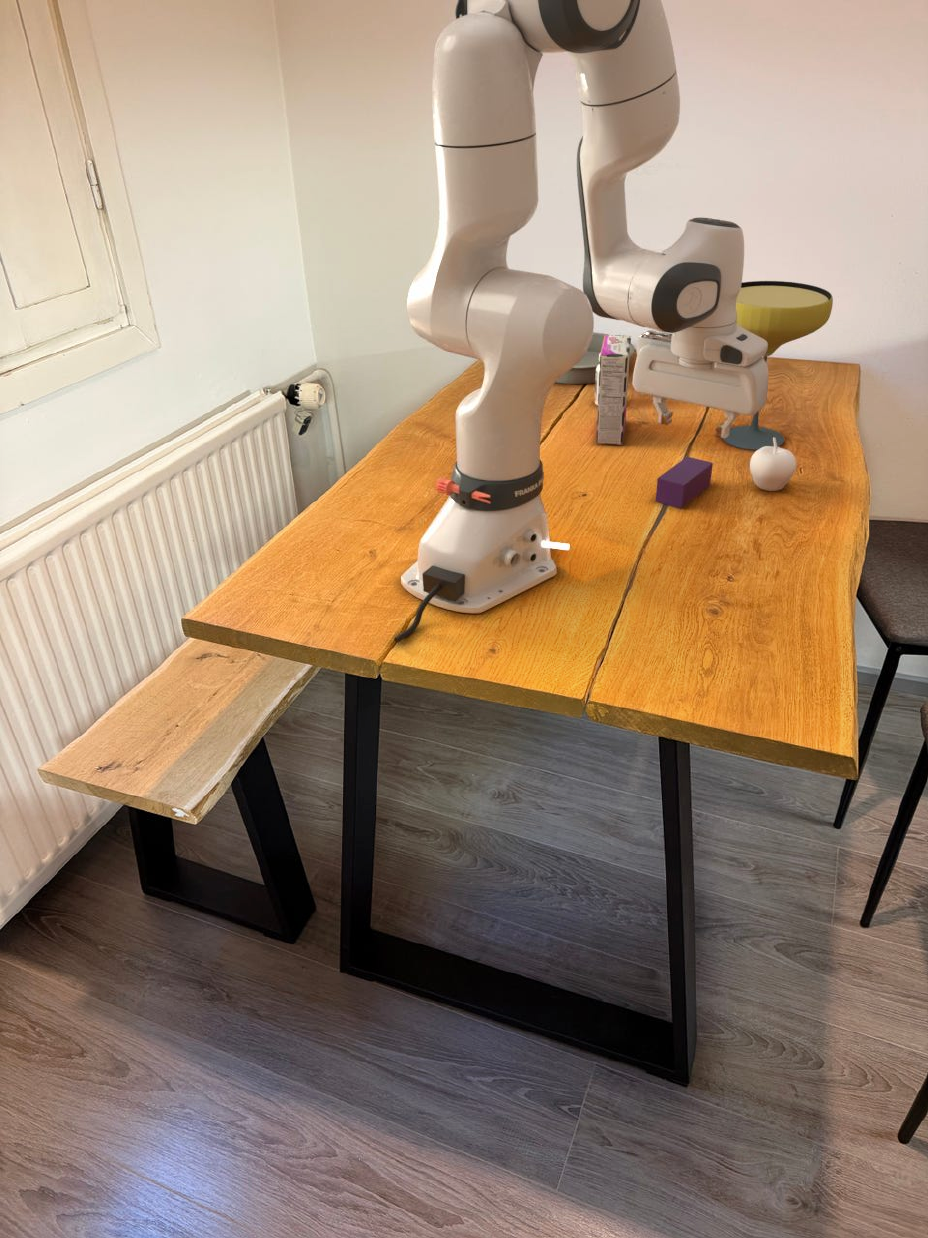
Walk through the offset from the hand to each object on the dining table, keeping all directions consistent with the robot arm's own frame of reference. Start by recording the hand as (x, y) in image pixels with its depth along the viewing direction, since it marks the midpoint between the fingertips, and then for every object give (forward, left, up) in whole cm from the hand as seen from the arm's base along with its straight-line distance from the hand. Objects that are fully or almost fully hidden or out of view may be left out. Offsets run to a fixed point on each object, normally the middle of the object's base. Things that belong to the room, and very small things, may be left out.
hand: (692, 429), depth 135 cm
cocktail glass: (+26, 0, -11) cm, 29 cm away
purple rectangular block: (-1, 0, -11) cm, 11 cm away
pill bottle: (+27, +30, -11) cm, 42 cm away
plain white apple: (+9, -10, -11) cm, 17 cm away
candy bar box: (+14, +22, -11) cm, 29 cm away
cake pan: (+42, +47, -11) cm, 64 cm away
